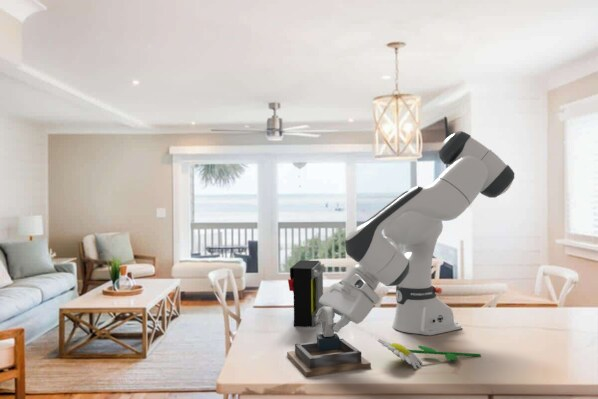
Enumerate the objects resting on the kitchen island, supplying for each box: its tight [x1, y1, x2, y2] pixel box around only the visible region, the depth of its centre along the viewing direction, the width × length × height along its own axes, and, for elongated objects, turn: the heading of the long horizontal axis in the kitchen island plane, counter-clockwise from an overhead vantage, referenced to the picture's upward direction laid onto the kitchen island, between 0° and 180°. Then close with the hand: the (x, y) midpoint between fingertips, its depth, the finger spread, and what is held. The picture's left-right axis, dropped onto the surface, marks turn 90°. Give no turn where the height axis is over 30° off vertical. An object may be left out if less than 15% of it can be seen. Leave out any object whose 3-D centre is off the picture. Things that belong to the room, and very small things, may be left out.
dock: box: [286, 338, 372, 378], centre depth 132 cm, size 18×16×4 cm
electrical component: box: [287, 259, 326, 328], centre depth 174 cm, size 18×10×20 cm, turn 168°
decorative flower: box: [377, 338, 482, 370], centre depth 132 cm, size 13×5×30 cm
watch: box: [316, 306, 340, 351], centre depth 132 cm, size 6×8×11 cm
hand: (325, 325), depth 132 cm, fingers closed on watch, 8 cm apart
